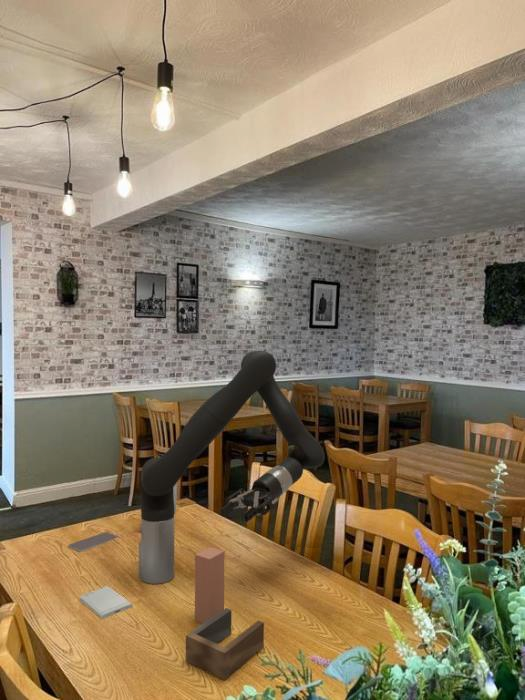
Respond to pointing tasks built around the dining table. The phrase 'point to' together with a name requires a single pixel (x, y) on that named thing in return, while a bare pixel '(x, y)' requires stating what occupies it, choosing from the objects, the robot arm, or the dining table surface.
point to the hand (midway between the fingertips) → (232, 516)
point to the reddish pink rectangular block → (209, 584)
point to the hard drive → (105, 602)
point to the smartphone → (92, 542)
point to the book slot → (216, 657)
